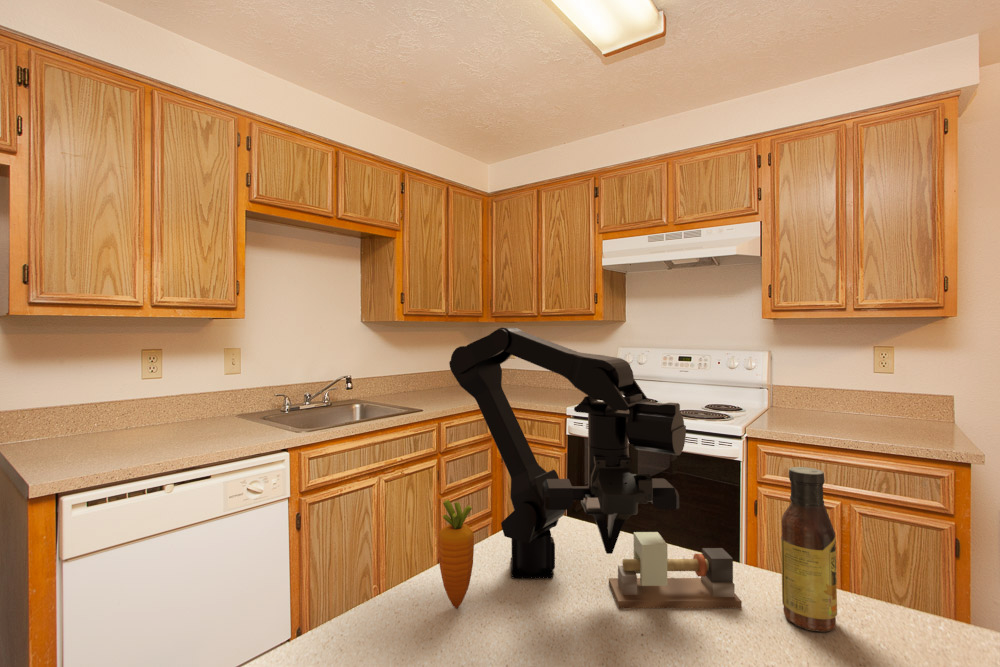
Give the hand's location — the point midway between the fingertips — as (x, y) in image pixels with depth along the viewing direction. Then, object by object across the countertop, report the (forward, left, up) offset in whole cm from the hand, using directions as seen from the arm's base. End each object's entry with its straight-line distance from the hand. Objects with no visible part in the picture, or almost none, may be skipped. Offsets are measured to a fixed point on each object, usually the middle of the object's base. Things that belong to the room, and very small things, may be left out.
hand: (608, 552), depth 73 cm
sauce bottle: (+25, -6, -7) cm, 27 cm away
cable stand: (+9, 0, -6) cm, 11 cm away
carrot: (-22, -3, -7) cm, 23 cm away
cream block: (+6, 0, -4) cm, 7 cm away
